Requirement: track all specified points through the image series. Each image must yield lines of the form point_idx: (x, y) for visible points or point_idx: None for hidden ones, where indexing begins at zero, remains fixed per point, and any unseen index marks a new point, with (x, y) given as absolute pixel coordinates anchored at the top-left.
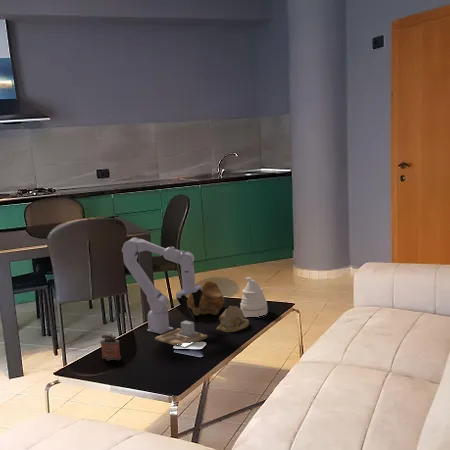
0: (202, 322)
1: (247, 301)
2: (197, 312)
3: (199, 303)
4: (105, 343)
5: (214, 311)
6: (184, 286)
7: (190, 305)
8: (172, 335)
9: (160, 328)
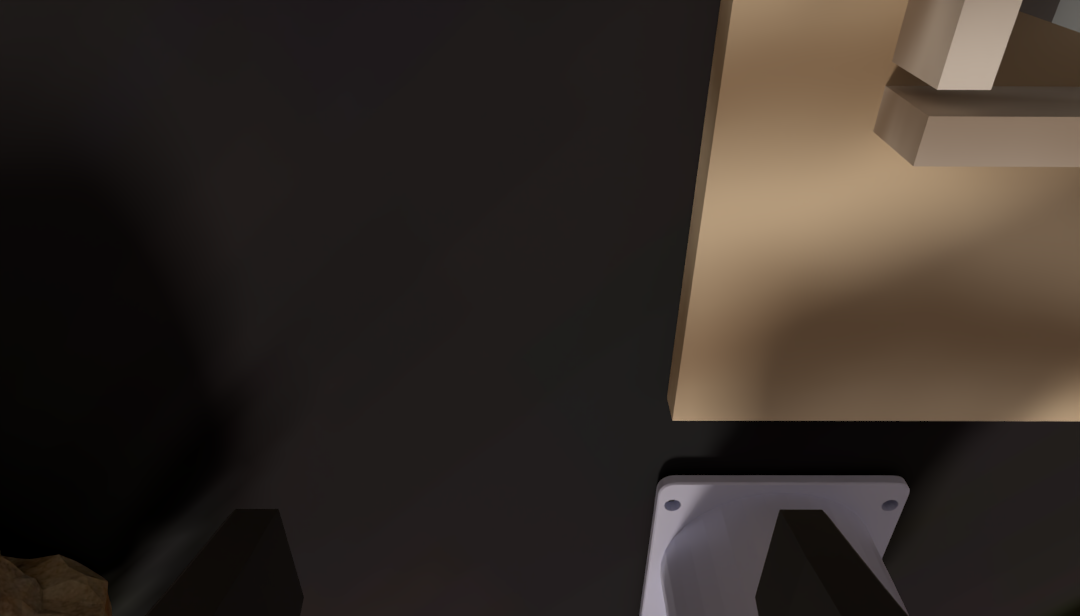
0: (190, 343)
1: None
2: (57, 594)
3: (160, 606)
4: None
5: None
6: None
7: None
8: (1018, 276)
9: (876, 553)
